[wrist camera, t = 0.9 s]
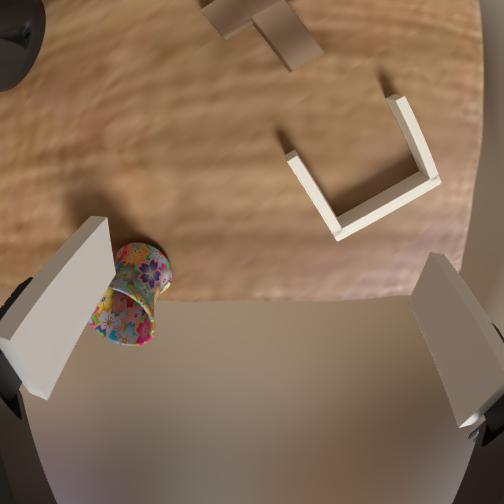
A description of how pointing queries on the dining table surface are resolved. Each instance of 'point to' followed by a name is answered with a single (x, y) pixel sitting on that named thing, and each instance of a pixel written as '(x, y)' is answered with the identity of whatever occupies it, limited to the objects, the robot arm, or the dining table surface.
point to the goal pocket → (389, 197)
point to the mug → (132, 295)
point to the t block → (266, 27)
